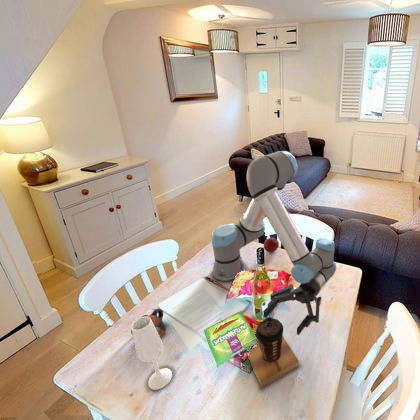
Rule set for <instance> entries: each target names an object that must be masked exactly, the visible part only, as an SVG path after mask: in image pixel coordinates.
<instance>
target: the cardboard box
mask: <svg viewBox="0 0 420 420" xmlns="http://www.w3.org/2000/svg"><path fill="white" fill-rule="evenodd" d="M257 343H258V342H257ZM257 343H256V344H257ZM249 352H250V353H249ZM249 352H248V353H249V358H250V361H251V364H252V365H251V364H250V366H251V368H252V370H253V372H254V375H255V376H256V378H257V381H258V383H259V385H260V387H261V388H262V389H263V388H265V387H266V386H268V385H270V384H271V383H273V382H275V381H276V380H278V379H280V378H282V377H283V376H285V375H287V374H288V373H291V372H292V371H293V370H295V369H296V368H298V367H299V364H300V363H299V359H298V357H297V356H296V354H295V352H294V351H293V350H292V348H291V346H290V345H289V343H288V342H287V339H285V337H284V336H283V337H282V348H281V355H280V358H279V359H278V360H277V361H276V362H273V363H266V362H264V361H263V359H262V356H261V351H260V347H259V343H258V344H257V347H255V348H252V349H250V350H249Z"/></svg>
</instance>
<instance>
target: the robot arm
mask: <svg viewBox="0 0 420 420" xmlns="http://www.w3.org/2000/svg"><path fill="white" fill-rule="evenodd" d="M297 163H298V162H297V160H296V158H295V156H294V155H293V154H292V153H291V152H289V151H286V150H281V151H280V150H278V151H275V152H272V153H269V154H266V155H262V156H258V157H256V158H254V159H253V160H252V161H251V162H250V163H249V165H248V166H247V171H246V184H247V189H248V191H249V193H250V195H251V198H252V199H251V201H250V203H249V205H248V208H247V210H246V211H245V212H243V213H242V214H241V216H240V217H239V220H238V222H236V223H225V224H224V223H223V224H220V225H219V226H216V228H214V230H213V231H212V232H211V244H212V250H213V257H214V261H213V267H212V275H213V278H214V279H215V280H217V281H221V282H233V281H235V280H234V278H235V276H236V274H237V273H239V272H241V271H244V270H245V271H246V264H245V261H244V260H243V257H242V256H241V249H242V248H244V247H245V246H247V245H249V244H250V243H252V242H254V241H255V240H256V241H257V239H259V238H261V237H262V236H263V235H264V233H265V231H266V226H265V222H264V219H265V217H266V218H267V220H268V222H269V224H270V226H271V227H272V229H273V231H274V232H275V234H276V236H277V238H278V241H280V244H281V245H282V247H283V249H284V250H285V252H286V254H287V256H288V257H289V259H290V261H291V263H292V265H293V266H292V267H291V269H290V273H291V277H292V279H293V280H294V281H295V282H296V283H298V284H299V286H298V287H295V286H294V284H289V285H288V286H286V287H285V288H281V289H279V290H277V291H274V292H272V293H271V294H270V301H269V302H268V303H267V307H266V308H265V309H264V310H263V317H264V319H266V318H268V316H269V315H270V314H271V313H272V312H273V311H274V309H275V308H276V307H277V306H278V304H281V303H284V302H290V301H292V302H293V301H296V302H299V303H301V304H303V305H304V304H305V306H306V307H305V308H306V310H307V314H306V315H305V317H304V318H303V319H302V321H301V322H300V323H299V325H298V326H297V328H296V335H298V336H300V335H301V333H302V332H303V331H304V329H305V328H306V329H307V328H309V326H310V325H311V324H312V323H313V322H315V323H316V324H318V323H320V322H319V321H320V306H321V304H322V296H318V295H319V293H320V292H321V291H322V290H323V288H324V287H325V286H326V284H327V283H328V282H329V280H330V279H332V277H333V276H334V275H335V273H336V272H337V265H336V262H335V261H334V260H335V259H334V258H335V250H336V249H335V241H334V240H333V239H332V238H329V237H328V236H327V237H326V236H324V237H319V238H317V240H316V241H315V248H314V249H312V250H311V251H310V250H309V249H308V247H307V245H306V243H305V242H304V239H303V238H302V236H301V233H300V232H299V231H298V229H297V227H296V225H295V223H294V221H293V219H292V218H291V216H290V214H289V212H288V211H287V208H286V207H285V205H284V203H283V201H282V199H281V198H280V196H279V194H278V193H279V191H282V190H284V188H285V187H286V185H287V183H288V182H289V180H290V179H293V178H294V177H295V176H297V174H298V170H299V167H298V166H299V165H298V164H297ZM317 296H318V297H317ZM312 302H314V303H315V314H314V312H313V308H312V307H313V306H312V304H311V303H312Z"/></svg>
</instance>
